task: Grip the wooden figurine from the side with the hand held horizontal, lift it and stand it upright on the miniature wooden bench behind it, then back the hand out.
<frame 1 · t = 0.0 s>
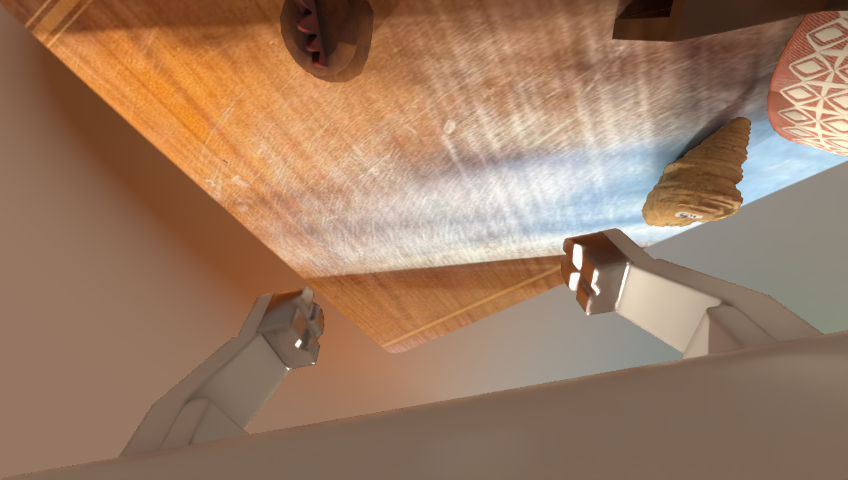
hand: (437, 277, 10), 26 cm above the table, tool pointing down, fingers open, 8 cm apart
wooden figurine: (341, 31, 27), on the table
seashell: (675, 171, 38), on the table
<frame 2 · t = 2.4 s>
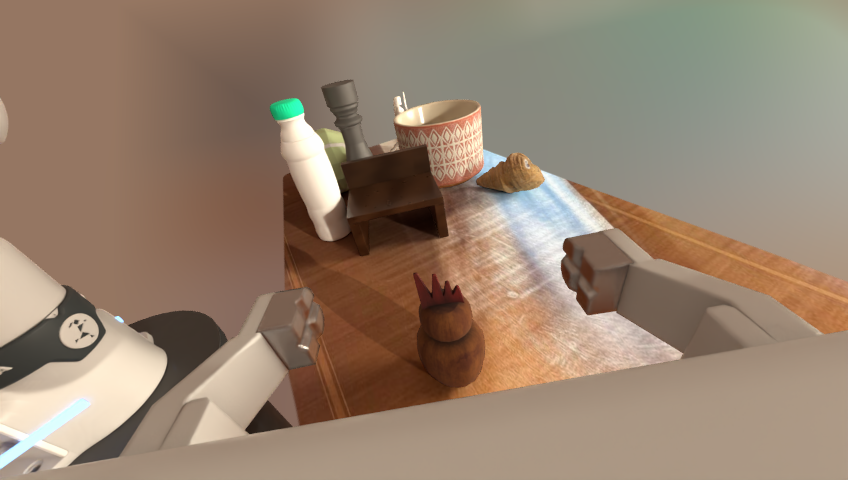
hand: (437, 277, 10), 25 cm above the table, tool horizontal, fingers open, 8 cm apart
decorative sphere: (338, 191, 78), on the table
miniature wooden bench: (401, 228, 59), on the table
wooden figurine: (456, 370, 34), on the table
candle holder: (374, 207, 68), on the table
water bottle: (337, 233, 62), on the table
figurine: (402, 159, 89), on the table
planter: (444, 174, 76), on the table
seashell: (511, 190, 64), on the table
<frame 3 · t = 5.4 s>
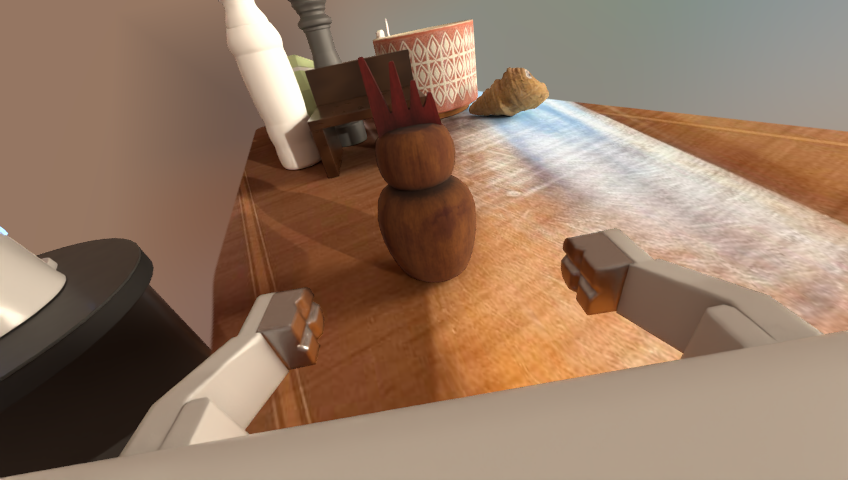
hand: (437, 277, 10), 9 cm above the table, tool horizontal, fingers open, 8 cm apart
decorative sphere: (313, 134, 69), on the table
miniature wooden bench: (380, 153, 50), on the table
wooden figurine: (437, 269, 25), on the table
candle holder: (351, 141, 59), on the table
water bottle: (305, 163, 53), on the table
planter: (433, 111, 67), on the table
seashell: (509, 115, 55), on the table
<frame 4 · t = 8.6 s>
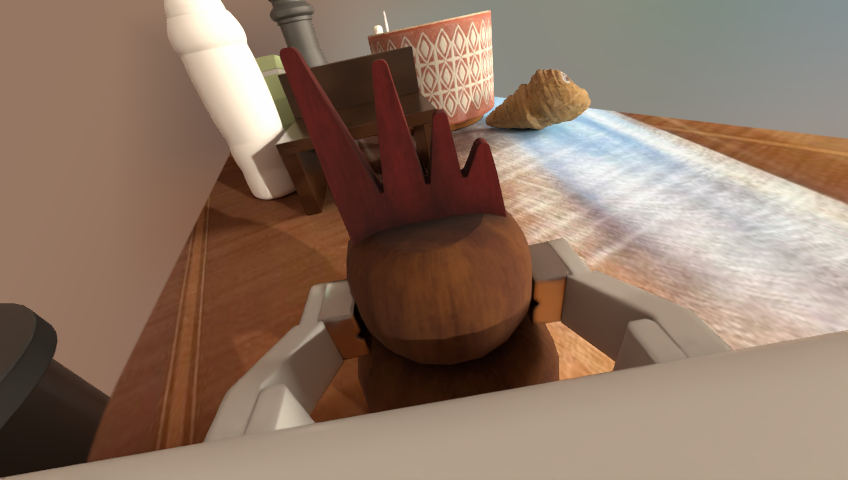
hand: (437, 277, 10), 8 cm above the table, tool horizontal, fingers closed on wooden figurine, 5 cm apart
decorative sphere: (299, 148, 58), on the table
miniature wooden bench: (375, 178, 39), on the table
wooden figurine: (467, 427, 14), on the table, touching gripper
candle holder: (342, 160, 48), on the table
water bottle: (282, 190, 42), on the table
planter: (441, 121, 56), on the table
seashell: (536, 128, 44), on the table
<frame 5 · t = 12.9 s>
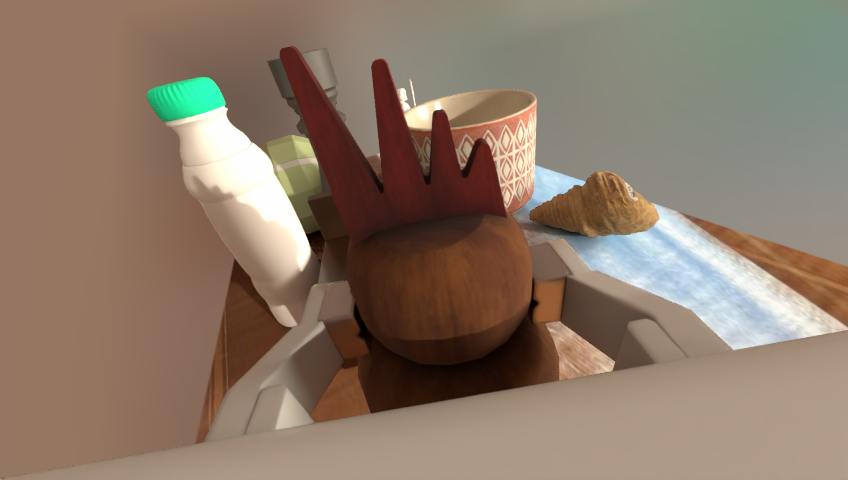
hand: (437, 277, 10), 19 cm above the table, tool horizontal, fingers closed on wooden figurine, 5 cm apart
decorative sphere: (318, 226, 54), on the table
miniature wooden bench: (415, 303, 35), on the table
wooden figurine: (467, 427, 14), point 10 cm above the table, touching gripper
candle holder: (370, 257, 44), on the table
water bottle: (308, 307, 37), on the table
figurine: (408, 176, 64), on the table
planter: (473, 200, 52), on the table
seashell: (589, 231, 40), on the table
when the fingers open (16 cm above the table, at t = 17.2 s): wooden figurine stays where it is, resting on miniature wooden bench.
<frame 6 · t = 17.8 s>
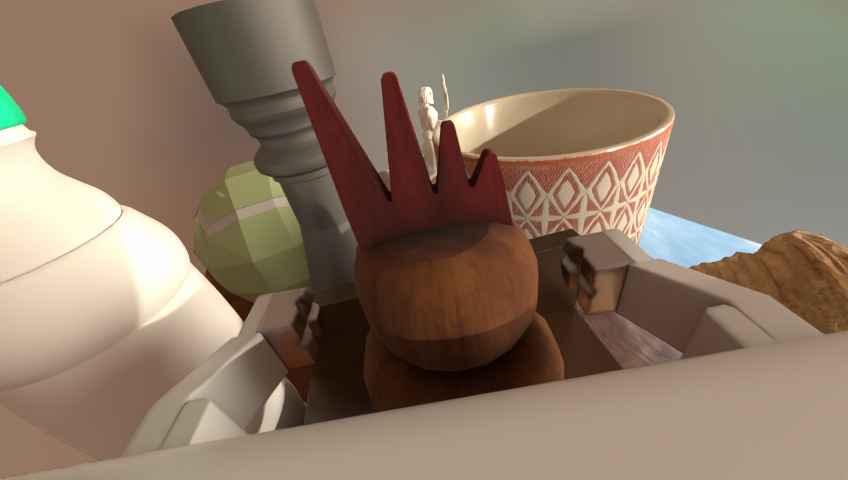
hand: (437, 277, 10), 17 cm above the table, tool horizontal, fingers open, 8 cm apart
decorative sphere: (309, 282, 38), on the table
wooden figurine: (472, 430, 14), point 8 cm above the table, touching miniature wooden bench
candle holder: (387, 354, 27), on the table
water bottle: (283, 468, 21), on the table
figurine: (432, 204, 48), on the table
planter: (533, 249, 36), on the table
seashell: (758, 326, 24), on the table
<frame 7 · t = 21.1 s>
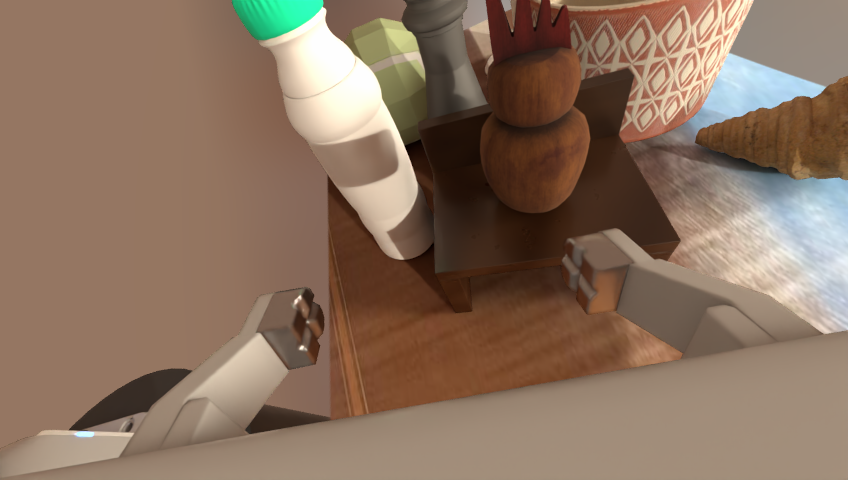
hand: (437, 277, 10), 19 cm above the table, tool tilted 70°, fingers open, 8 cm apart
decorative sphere: (408, 135, 48), on the table
miniature wooden bench: (530, 248, 31), on the table
wooden figurine: (531, 196, 25), point 8 cm above the table, touching miniature wooden bench
candle holder: (472, 182, 38), on the table
water bottle: (410, 237, 36), on the table
planter: (605, 105, 39), on the table
seashell: (790, 165, 28), on the table
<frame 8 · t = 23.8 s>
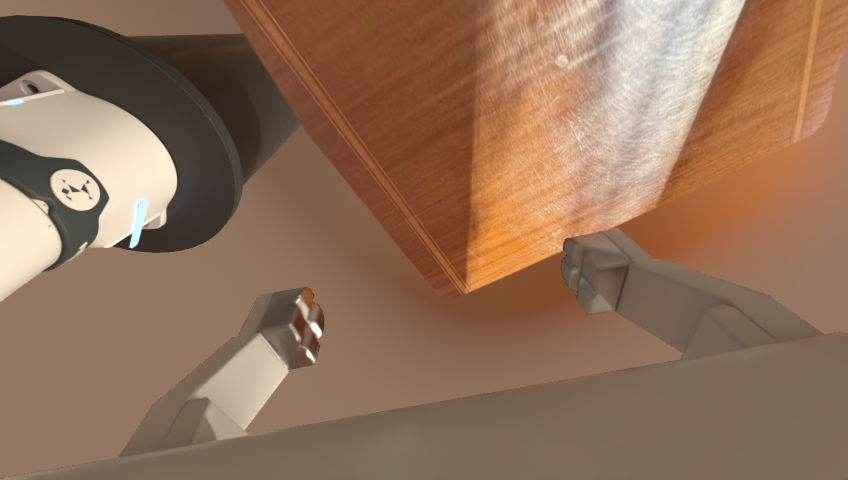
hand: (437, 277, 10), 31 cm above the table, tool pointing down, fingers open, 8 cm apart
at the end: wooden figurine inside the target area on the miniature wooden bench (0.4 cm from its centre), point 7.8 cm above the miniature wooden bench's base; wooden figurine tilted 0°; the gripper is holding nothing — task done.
